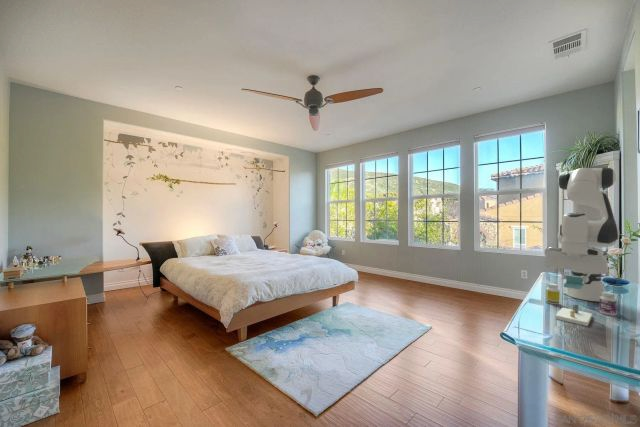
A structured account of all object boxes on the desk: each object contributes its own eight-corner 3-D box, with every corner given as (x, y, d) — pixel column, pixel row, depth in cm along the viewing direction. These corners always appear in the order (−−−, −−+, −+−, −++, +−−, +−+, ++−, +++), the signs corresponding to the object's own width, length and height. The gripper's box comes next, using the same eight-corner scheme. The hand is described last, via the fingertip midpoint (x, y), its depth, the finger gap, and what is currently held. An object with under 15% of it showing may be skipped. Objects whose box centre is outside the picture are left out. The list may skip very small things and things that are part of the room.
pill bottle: (599, 313, 124) (600, 292, 124) (598, 310, 128) (599, 290, 128) (617, 316, 120) (617, 295, 120) (615, 313, 124) (615, 293, 124)
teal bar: (579, 289, 112) (579, 279, 112) (563, 286, 116) (563, 277, 116) (584, 284, 121) (584, 275, 121) (569, 282, 125) (569, 273, 125)
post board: (562, 310, 127) (562, 300, 127) (592, 317, 119) (592, 305, 119) (555, 318, 117) (555, 307, 117) (587, 326, 109) (587, 314, 109)
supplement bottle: (562, 305, 135) (562, 285, 135) (549, 304, 136) (550, 285, 136) (555, 301, 141) (555, 283, 141) (543, 300, 142) (543, 282, 142)
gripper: (543, 247, 124) (542, 277, 124) (607, 252, 109) (607, 286, 108) (546, 246, 128) (545, 275, 128) (608, 251, 113) (608, 284, 112)
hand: (574, 280), depth 118 cm, fingers closed on teal bar, 5 cm apart
